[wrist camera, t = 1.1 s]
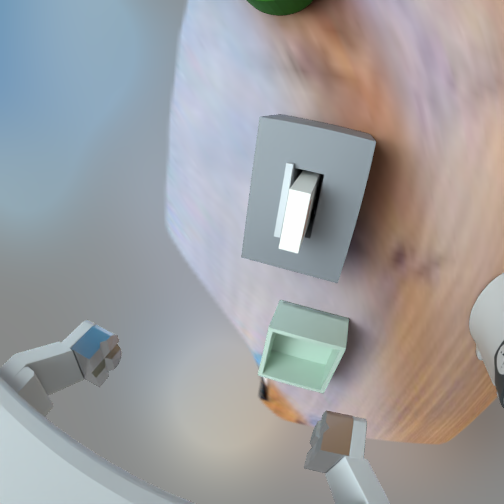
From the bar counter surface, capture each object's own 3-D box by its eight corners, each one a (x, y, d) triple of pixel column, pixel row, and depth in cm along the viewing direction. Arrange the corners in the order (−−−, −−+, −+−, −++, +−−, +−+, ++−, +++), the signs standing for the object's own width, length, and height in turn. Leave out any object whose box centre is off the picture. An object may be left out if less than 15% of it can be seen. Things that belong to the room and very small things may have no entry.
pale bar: (323, 166, 31) (311, 194, 22) (314, 208, 34) (298, 253, 24) (308, 162, 31) (289, 188, 22) (300, 205, 34) (278, 248, 25)
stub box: (348, 318, 40) (346, 348, 35) (328, 364, 45) (323, 393, 40) (279, 299, 42) (268, 327, 37) (268, 347, 47) (257, 375, 42)
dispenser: (369, 134, 29) (376, 142, 22) (341, 249, 36) (336, 288, 29) (279, 114, 31) (257, 117, 24) (262, 228, 38) (239, 261, 31)
